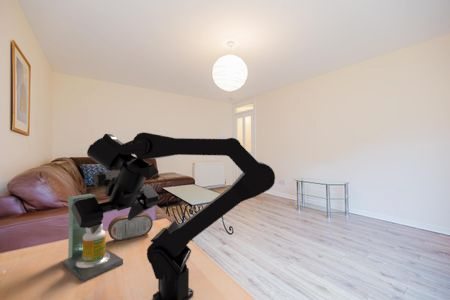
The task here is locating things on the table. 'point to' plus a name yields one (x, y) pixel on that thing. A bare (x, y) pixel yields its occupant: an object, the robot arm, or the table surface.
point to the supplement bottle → (94, 246)
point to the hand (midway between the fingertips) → (111, 225)
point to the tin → (130, 227)
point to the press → (76, 249)
